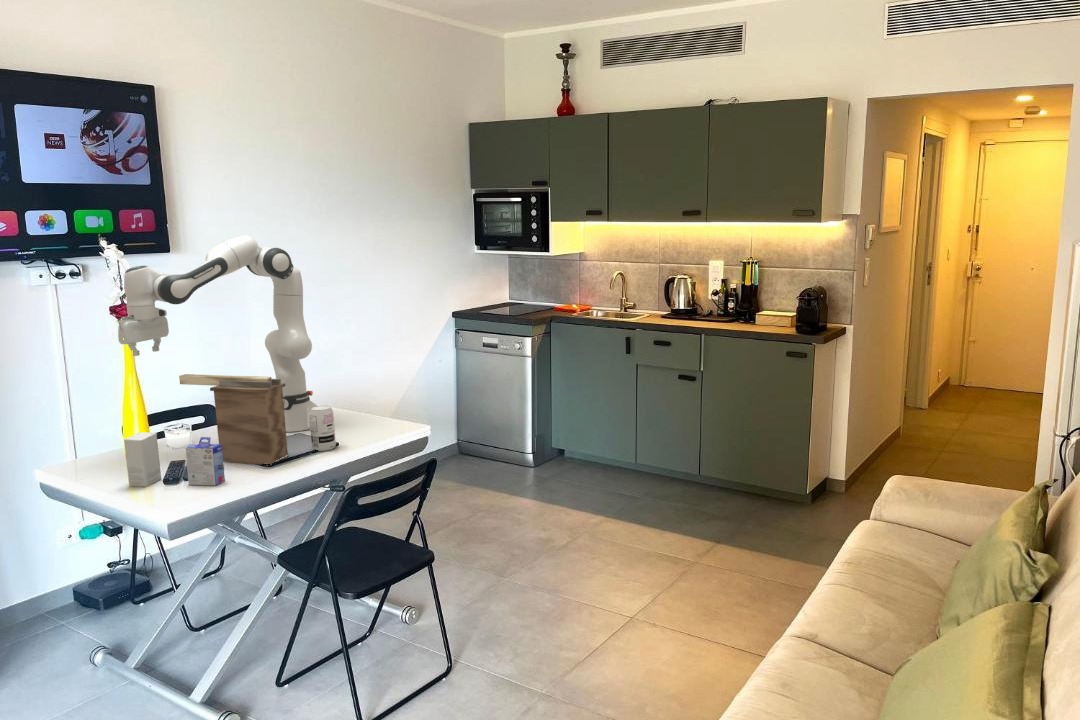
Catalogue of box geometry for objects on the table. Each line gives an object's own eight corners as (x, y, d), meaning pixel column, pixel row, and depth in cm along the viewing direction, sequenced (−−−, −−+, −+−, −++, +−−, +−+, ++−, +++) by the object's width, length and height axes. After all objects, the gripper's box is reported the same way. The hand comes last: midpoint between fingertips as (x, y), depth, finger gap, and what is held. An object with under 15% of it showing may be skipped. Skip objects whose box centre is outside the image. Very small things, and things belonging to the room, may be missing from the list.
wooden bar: (185, 382, 294) (185, 374, 293) (272, 385, 283) (271, 376, 283) (179, 384, 291) (179, 375, 290) (266, 387, 281) (266, 378, 280)
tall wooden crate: (237, 453, 297) (230, 376, 293) (291, 456, 291) (284, 377, 286) (217, 462, 287) (209, 382, 282) (272, 465, 281) (265, 383, 276)
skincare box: (144, 478, 271) (139, 431, 268) (163, 479, 270) (158, 432, 267) (128, 486, 263) (122, 438, 260) (147, 487, 261) (141, 439, 259)
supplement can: (317, 445, 305) (314, 405, 302) (339, 445, 304) (336, 405, 301) (308, 451, 297) (305, 410, 294) (331, 451, 296) (328, 410, 293)
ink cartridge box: (226, 480, 266) (222, 436, 263) (216, 486, 260) (211, 441, 258) (198, 479, 268) (194, 435, 265) (188, 485, 262) (183, 440, 260)
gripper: (126, 317, 276) (131, 358, 279) (169, 310, 296) (174, 348, 298) (111, 317, 278) (115, 358, 281) (155, 310, 297) (159, 348, 300)
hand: (146, 353), depth 289 cm, fingers open, 8 cm apart
